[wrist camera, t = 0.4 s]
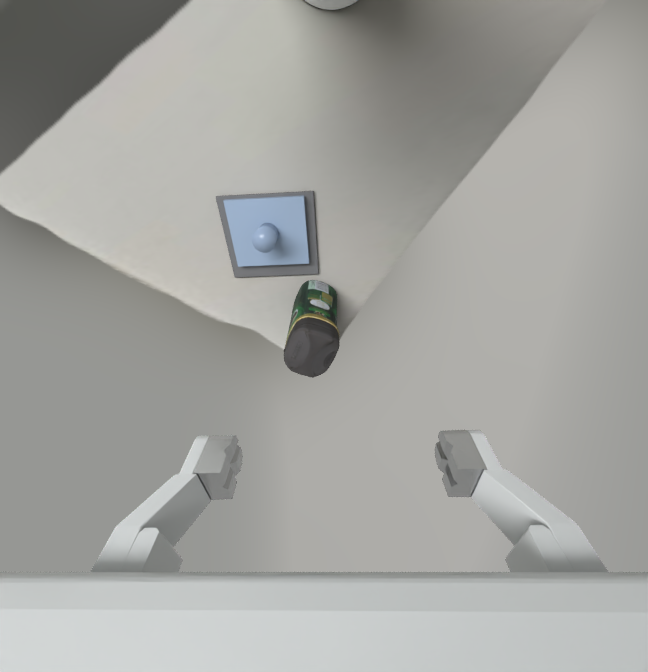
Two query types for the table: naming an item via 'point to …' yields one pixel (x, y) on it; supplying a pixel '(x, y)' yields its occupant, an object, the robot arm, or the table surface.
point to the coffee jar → (312, 330)
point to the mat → (274, 269)
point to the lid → (268, 230)
